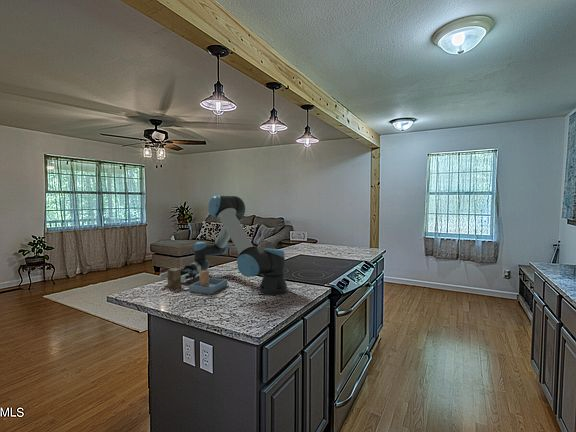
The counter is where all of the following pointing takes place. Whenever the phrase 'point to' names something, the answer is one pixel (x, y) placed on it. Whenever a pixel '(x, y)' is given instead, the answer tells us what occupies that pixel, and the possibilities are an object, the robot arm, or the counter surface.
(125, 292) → the counter surface
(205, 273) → the canister
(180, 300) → the counter surface
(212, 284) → the tray
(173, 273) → the walnut block
